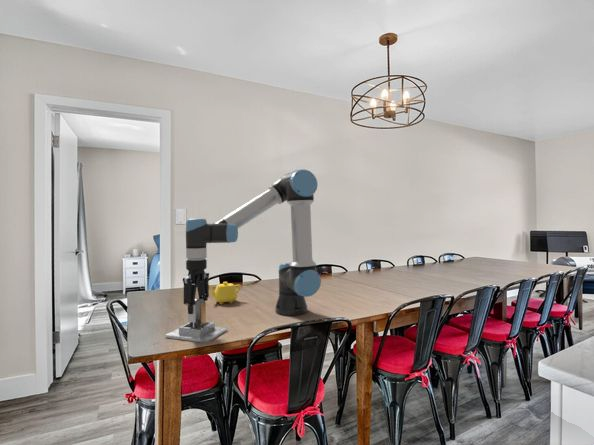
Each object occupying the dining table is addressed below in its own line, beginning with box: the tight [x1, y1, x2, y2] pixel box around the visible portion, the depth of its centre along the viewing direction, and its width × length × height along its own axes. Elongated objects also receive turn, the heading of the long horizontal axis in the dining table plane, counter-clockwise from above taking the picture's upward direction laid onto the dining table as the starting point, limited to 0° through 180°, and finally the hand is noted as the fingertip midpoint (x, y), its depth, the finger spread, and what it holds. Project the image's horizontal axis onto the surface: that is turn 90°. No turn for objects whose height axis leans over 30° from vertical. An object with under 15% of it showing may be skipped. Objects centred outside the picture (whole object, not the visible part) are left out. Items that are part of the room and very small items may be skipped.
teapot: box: [209, 281, 242, 305], centre depth 175 cm, size 18×11×11 cm, turn 110°
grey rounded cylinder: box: [190, 297, 207, 328], centre depth 126 cm, size 5×6×10 cm
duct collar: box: [164, 320, 228, 344], centre depth 126 cm, size 18×14×4 cm
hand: (196, 319), depth 126 cm, fingers closed on grey rounded cylinder, 5 cm apart
